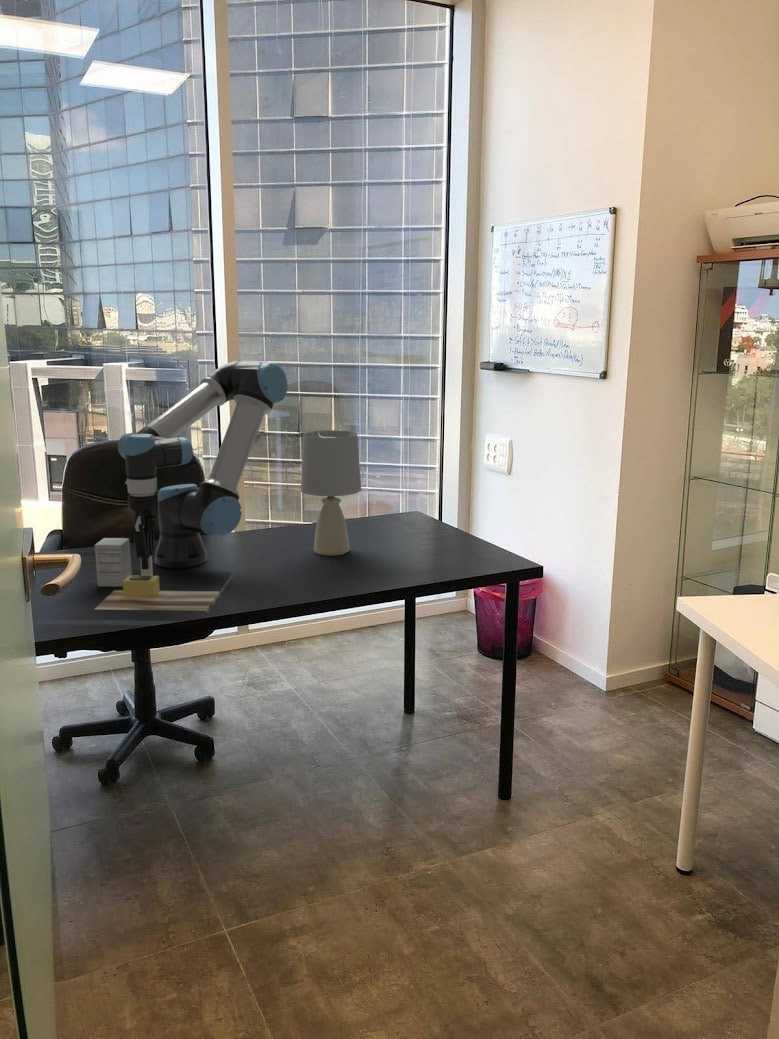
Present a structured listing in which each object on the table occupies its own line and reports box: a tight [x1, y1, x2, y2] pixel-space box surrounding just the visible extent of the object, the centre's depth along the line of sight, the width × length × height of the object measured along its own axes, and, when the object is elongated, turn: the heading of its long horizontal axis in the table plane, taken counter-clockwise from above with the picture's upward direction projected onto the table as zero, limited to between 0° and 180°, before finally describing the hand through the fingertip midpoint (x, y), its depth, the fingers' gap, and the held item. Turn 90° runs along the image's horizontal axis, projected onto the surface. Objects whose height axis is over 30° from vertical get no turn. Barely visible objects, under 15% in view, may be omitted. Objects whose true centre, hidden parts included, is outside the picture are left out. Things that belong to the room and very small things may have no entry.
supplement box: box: [94, 537, 133, 587], centre depth 234 cm, size 7×7×13 cm
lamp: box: [300, 429, 362, 557], centre depth 266 cm, size 19×19×37 cm
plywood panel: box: [94, 589, 221, 615], centre depth 221 cm, size 15×28×1 cm, turn 89°
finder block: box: [122, 574, 161, 596], centre depth 226 cm, size 5×8×4 cm, turn 89°
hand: (147, 579), depth 232 cm, fingers closed
